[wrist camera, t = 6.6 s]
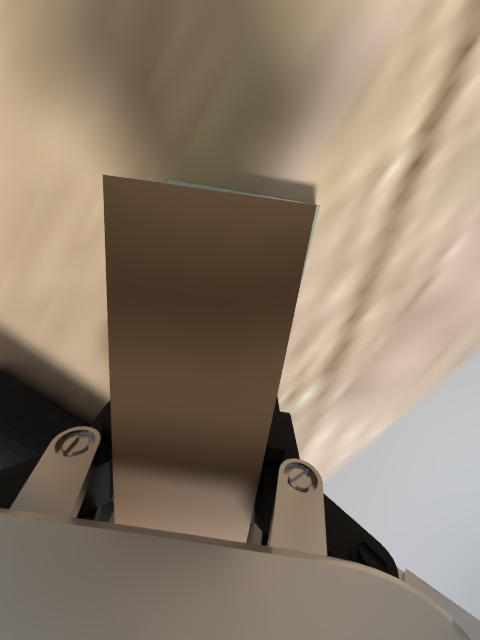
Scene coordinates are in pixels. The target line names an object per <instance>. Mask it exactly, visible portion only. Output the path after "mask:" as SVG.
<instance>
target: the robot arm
mask: <svg viewBox="0 0 480 640" xmlns="http://www.w3.org/2000/svg"><path fill="white" fill-rule="evenodd" d="M110 501H111V502H114V488H113V458H112V429H111V400H110V401H109V402H108V403H107V405H106V406H105V407H104V408H103V410H102V411H101V412H100V413H99V415H98V416H97V417H96V418H95V420H94V421H93V422H92V424H91V425H90V426H89V427H85V426H82V427H74V428H71V429H68V430H66V431H64V432H61V433H60V434H59V435H57V436H56V437H55V438H54V439H53V440H52V441H51V443H50V444H49V446H48V448H47V449H46V451H45V452H44V454H42V455H39V456H37V457H34V458H32V459H29V460H26V461H24V462H21V463H18V464H16V465H13V466H10V467H8V468H5V469H2V470H0V640H480V621H479V620H478V619H476V618H475V617H474V616H472V615H471V614H469V613H468V612H466V611H465V610H464V609H462V608H461V607H459V606H458V605H456V604H455V603H454V602H453V601H451V600H450V599H448V598H447V597H445V596H444V595H443V594H441V593H440V592H438V591H437V590H436V589H434V588H432V587H431V586H430V585H429V584H427V583H426V582H424V581H423V580H421V579H420V578H419V577H417V576H416V575H414V574H413V573H412V572H410V571H409V570H407V569H405V571H404V572H403V571H402V570H400V569H399V568H397V567H396V564H395V562H394V560H393V558H392V557H391V555H390V554H389V552H388V551H387V550H386V549H385V548H384V547H383V546H382V544H381V543H379V542H378V541H377V540H376V539H375V538H374V537H373V536H372V535H370V534H369V533H368V532H367V531H366V530H365V529H363V528H362V527H361V526H360V525H359V524H358V523H357V522H356V521H354V520H353V519H352V518H351V517H350V516H349V515H348V514H346V513H345V512H344V511H343V510H342V509H341V508H340V507H339V506H337V505H336V504H335V503H334V502H333V501H332V500H330V499H329V498H328V497H327V496H326V495H325V494H324V493H323V482H322V478H321V476H320V474H319V472H318V471H317V470H316V469H315V468H314V467H313V466H312V465H310V464H309V463H308V462H305V461H303V460H300V458H299V453H298V448H297V444H296V439H295V434H294V429H293V424H292V420H291V415H290V413H286V412H280V410H279V404H278V397H277V398H276V403H275V407H274V412H273V417H272V422H271V427H270V431H269V436H268V441H267V446H266V450H265V455H264V460H263V465H262V470H261V474H260V479H259V484H258V489H257V493H256V498H255V503H254V508H253V513H252V517H251V522H254V523H255V524H256V525H257V526H258V527H259V529H260V530H261V531H262V533H261V539H260V545H257V544H250V543H244V542H237V541H230V540H224V539H217V538H211V537H204V536H197V535H191V534H184V533H177V532H170V531H163V530H156V529H150V528H143V527H136V526H129V525H122V524H115V523H108V522H101V521H98V518H99V515H100V512H101V507H102V506H103V505H104V504H106V503H108V502H110Z"/></svg>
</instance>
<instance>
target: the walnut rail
mask: <svg viewBox="0 0 480 640" xmlns="http://www.w3.org/2000/svg"><path fill="white" fill-rule="evenodd" d="M103 195H104V224H105V253H106V283H107V312H108V341H109V370H110V400H111V429H112V458H113V488H114V517H115V524H122V525H129V526H136V527H143V528H150V529H156V530H163V531H170V532H177V533H184V534H191V535H197V536H204V537H211V538H217V539H224V540H230V541H237V542H244V543H246V541H247V536H248V532H249V527H250V522H251V517H252V513H253V508H254V503H255V498H256V493H257V489H258V484H259V479H260V474H261V470H262V465H263V460H264V455H265V450H266V446H267V441H268V436H269V431H270V427H271V422H272V417H273V412H274V407H275V403H276V398H277V393H278V388H279V384H280V379H281V374H282V369H283V365H284V360H285V355H286V350H287V345H288V341H289V336H290V331H291V326H292V322H293V317H294V312H295V307H296V302H297V298H298V293H299V288H300V283H301V279H302V274H303V269H304V264H305V259H306V255H307V250H308V245H309V240H310V236H311V231H312V226H313V221H314V217H315V212H316V207H317V205H314V204H307V203H300V202H293V201H286V200H279V199H272V198H264V197H257V196H250V195H243V194H236V193H229V192H222V191H215V190H208V189H201V188H194V187H186V186H179V185H172V184H165V183H158V182H151V181H144V180H137V179H130V178H123V177H116V176H109V175H103Z"/></svg>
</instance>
